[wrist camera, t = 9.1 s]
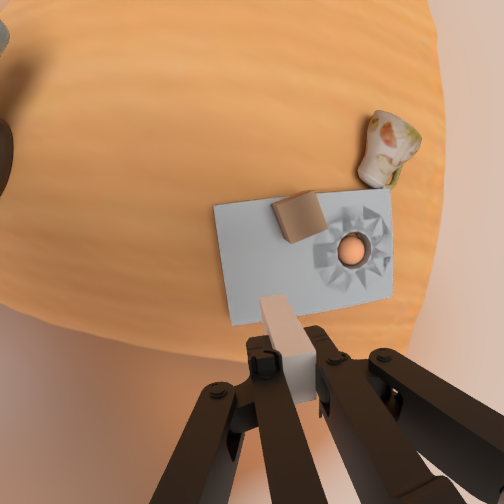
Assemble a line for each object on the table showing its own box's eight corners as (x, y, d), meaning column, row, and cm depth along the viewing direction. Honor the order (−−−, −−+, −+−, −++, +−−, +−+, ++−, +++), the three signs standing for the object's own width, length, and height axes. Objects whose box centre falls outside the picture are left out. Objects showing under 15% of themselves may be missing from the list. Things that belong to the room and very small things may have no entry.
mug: (337, 179, 34) (369, 127, 24) (358, 137, 37) (385, 89, 27) (385, 209, 33) (428, 167, 24) (400, 163, 36) (434, 122, 27)
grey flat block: (231, 314, 36) (231, 326, 32) (215, 204, 33) (213, 206, 30) (379, 288, 37) (392, 296, 33) (376, 188, 34) (389, 188, 30)
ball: (336, 265, 32) (365, 260, 31) (332, 236, 33) (360, 231, 32) (341, 268, 35) (367, 263, 34) (337, 242, 36) (363, 237, 35)
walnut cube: (283, 238, 31) (291, 244, 27) (270, 204, 30) (276, 205, 26) (316, 224, 31) (328, 228, 27) (303, 190, 30) (314, 190, 26)
